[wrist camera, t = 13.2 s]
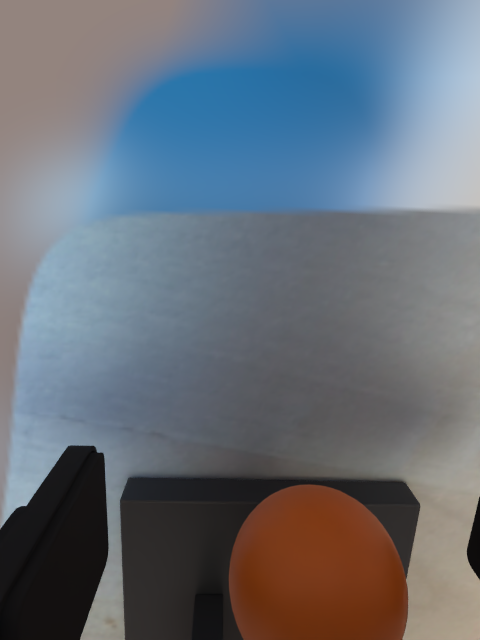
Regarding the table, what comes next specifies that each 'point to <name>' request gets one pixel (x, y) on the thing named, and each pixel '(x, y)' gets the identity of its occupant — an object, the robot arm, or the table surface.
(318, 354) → the table surface
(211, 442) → the table surface
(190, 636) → the lever base
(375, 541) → the switch lever
